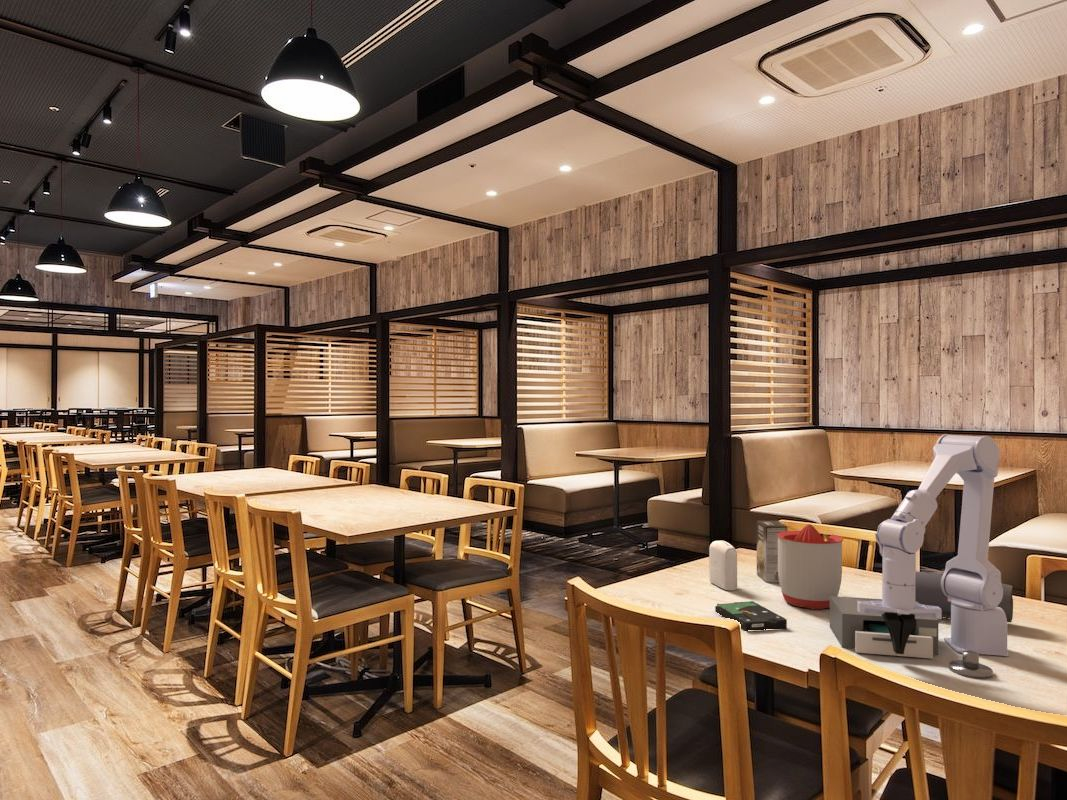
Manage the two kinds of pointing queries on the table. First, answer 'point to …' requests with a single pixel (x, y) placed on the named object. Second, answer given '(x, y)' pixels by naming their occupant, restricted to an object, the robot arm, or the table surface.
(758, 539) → the coffee box
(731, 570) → the photo printer
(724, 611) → the disk drive
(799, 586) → the citrus juicer
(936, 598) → the bluetooth speaker
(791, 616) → the table surface
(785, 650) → the table surface
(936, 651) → the player cabinet
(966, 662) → the spindle stand
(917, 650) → the drawer
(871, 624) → the teal rounded disc
